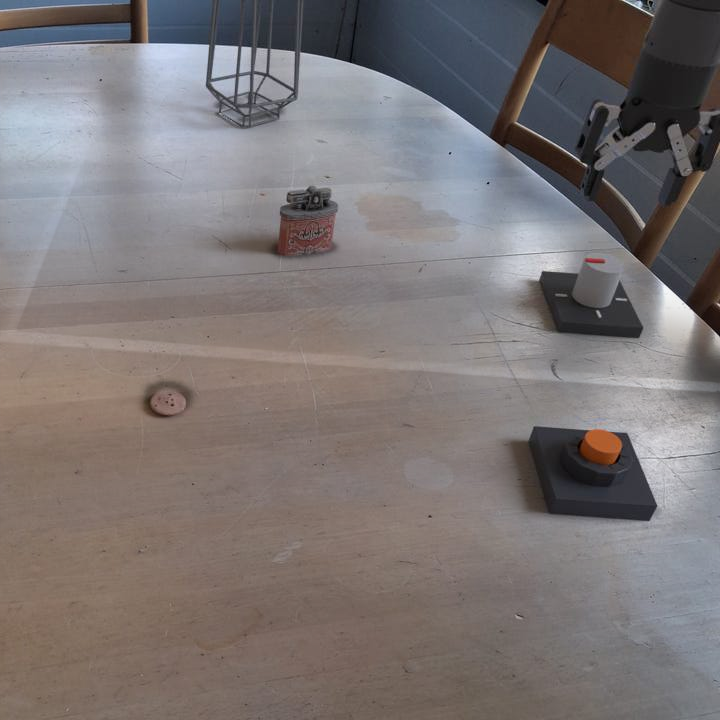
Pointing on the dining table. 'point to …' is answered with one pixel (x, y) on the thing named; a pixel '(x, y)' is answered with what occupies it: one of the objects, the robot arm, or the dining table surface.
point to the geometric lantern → (253, 65)
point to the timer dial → (597, 280)
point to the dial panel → (588, 309)
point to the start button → (600, 447)
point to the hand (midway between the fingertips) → (625, 201)
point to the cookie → (168, 403)
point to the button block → (589, 478)
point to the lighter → (307, 222)
